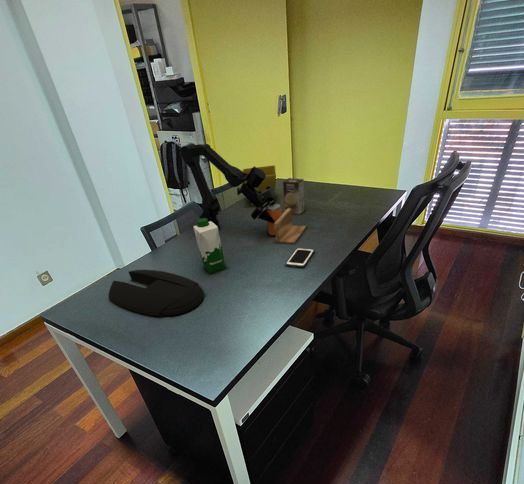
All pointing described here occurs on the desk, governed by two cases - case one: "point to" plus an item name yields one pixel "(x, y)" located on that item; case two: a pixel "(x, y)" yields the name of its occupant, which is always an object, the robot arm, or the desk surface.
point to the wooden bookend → (287, 229)
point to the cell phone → (300, 257)
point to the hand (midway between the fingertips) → (277, 219)
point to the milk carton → (209, 245)
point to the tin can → (275, 214)
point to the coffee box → (294, 195)
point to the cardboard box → (269, 179)
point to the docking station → (157, 293)
